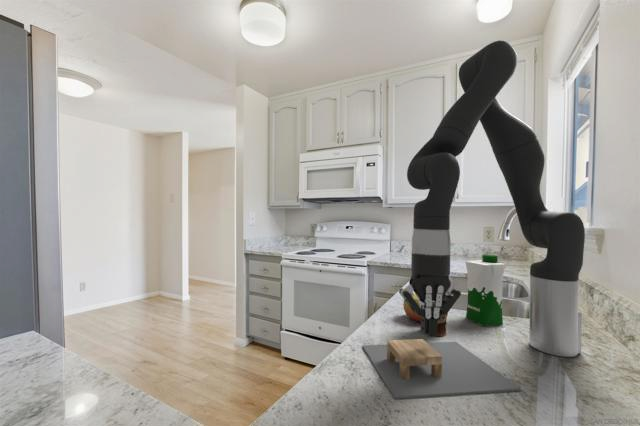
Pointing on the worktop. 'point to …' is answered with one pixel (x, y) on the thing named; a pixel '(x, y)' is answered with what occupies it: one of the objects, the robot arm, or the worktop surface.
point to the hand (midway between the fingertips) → (429, 335)
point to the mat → (457, 374)
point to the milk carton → (485, 290)
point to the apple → (409, 310)
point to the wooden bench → (413, 356)
